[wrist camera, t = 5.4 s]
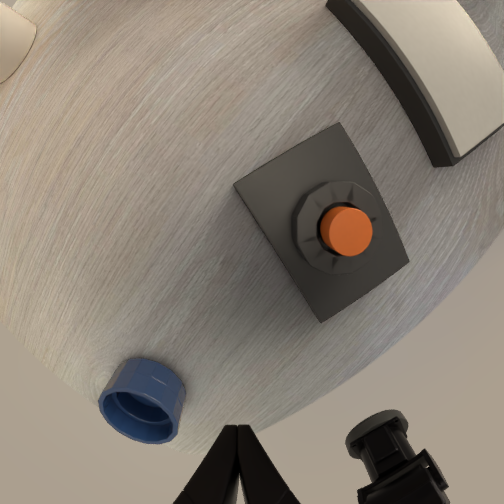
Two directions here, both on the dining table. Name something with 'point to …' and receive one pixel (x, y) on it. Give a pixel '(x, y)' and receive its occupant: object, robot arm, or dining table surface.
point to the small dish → (143, 401)
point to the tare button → (346, 230)
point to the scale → (432, 69)
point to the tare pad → (312, 212)
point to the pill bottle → (13, 40)
